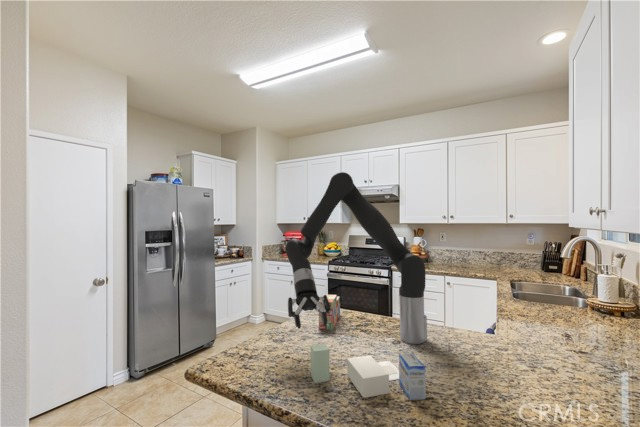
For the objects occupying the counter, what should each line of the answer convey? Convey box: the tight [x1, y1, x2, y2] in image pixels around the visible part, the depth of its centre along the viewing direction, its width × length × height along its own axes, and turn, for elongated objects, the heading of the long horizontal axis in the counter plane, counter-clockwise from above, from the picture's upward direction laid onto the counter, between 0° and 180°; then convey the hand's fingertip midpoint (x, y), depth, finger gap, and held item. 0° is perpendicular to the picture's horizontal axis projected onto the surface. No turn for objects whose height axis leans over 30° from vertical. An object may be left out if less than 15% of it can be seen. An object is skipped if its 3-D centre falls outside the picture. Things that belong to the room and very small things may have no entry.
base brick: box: [346, 354, 390, 399], centre depth 84 cm, size 8×12×5 cm, turn 15°
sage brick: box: [310, 343, 331, 384], centre depth 88 cm, size 4×4×9 cm
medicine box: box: [398, 352, 427, 401], centre depth 80 cm, size 8×4×9 cm, turn 5°
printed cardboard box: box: [318, 294, 341, 331], centre depth 138 cm, size 21×6×12 cm, turn 168°
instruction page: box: [376, 360, 399, 382], centre depth 91 cm, size 8×11×1 cm
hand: (312, 326), depth 96 cm, fingers open, 8 cm apart
